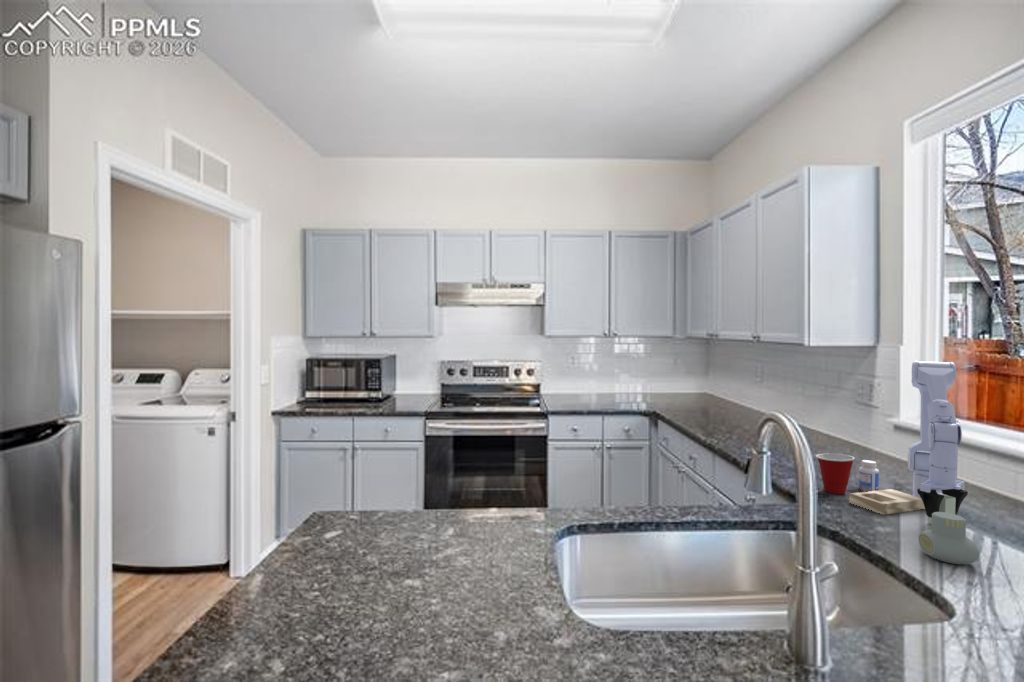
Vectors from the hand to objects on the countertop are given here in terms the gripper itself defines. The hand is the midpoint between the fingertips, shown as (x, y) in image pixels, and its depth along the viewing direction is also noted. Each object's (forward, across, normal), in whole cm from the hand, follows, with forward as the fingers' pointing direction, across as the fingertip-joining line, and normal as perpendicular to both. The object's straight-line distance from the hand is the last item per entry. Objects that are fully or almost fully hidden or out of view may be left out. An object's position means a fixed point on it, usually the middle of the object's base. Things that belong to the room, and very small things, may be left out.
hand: (941, 516), depth 135 cm
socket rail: (+2, +1, +15) cm, 15 cm away
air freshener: (+3, -23, -15) cm, 28 cm away
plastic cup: (+3, -2, +30) cm, 30 cm away
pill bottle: (+3, +11, +28) cm, 30 cm away
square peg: (+2, 0, 0) cm, 2 cm away
